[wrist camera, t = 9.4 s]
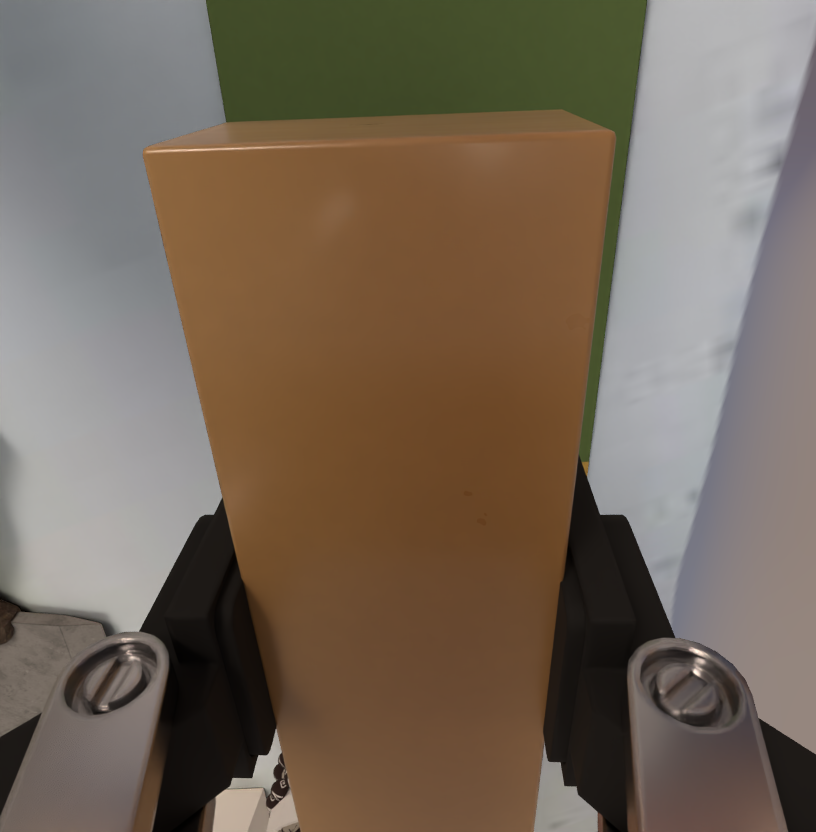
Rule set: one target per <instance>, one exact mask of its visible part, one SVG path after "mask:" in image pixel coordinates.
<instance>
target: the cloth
mask: <svg viewBox="0 0 816 832" xmlns="http://www.w3.org/2000/svg"><path fill="white" fill-rule="evenodd" d="M206 4H207V10H208V16H209V22H210V28H211V34H212V40H213V46H214V52H215V58H216V64H217V70H218V76H219V81H220V87H221V93H222V99H223V105H224V111H225V117H226V122H245V121H271V120H297V119H324V118H350V117H376V116H402V115H428V114H454V113H481V112H507V111H533V110H559V109H562V110H564V111H567V112H569V113H572V114H574V115H576V116H579V117H581V118H583V119H586V120H588V121H590V122H593V123H595V124H598V125H600V126H602V127H605V128H607V129H609V130H612V131H614V132H615V135H616V145H615V154H614V162H613V170H612V179H611V187H610V196H609V204H608V212H607V221H606V229H605V238H604V246H603V254H602V263H601V271H600V279H599V288H598V296H597V305H596V313H595V321H594V330H593V338H592V347H591V355H590V363H589V372H588V380H587V388H586V397H585V405H584V414H583V422H582V430H581V439H580V447H579V456H580V459H581V462H582V465H583V467H584V470H585V473H586V476H587V473H588V465H589V457H590V449H591V441H592V433H593V425H594V417H595V409H596V401H597V393H598V385H599V377H600V369H601V362H602V354H603V346H604V338H605V330H606V322H607V314H608V306H609V298H610V290H611V282H612V274H613V267H614V259H615V251H616V243H617V235H618V227H619V219H620V211H621V203H622V195H623V187H624V179H625V171H626V164H627V156H628V148H629V140H630V132H631V124H632V116H633V108H634V100H635V92H636V84H637V76H638V69H639V61H640V53H641V45H642V37H643V29H644V21H645V13H646V5H647V0H206Z"/></svg>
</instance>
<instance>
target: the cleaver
mask: <svg viewBox="0 0 816 832" xmlns="http://www.w3.org/2000/svg"><path fill="white" fill-rule="evenodd" d="M105 637H106V635H105V632H104V630H103V627H102V624H101V623H98V622H93V621H89V620H85V619H80V618H76V617H72V616H67V615H57V614H44V613H31V612H21V611H20V609H19V607H18V606H16V605H14V604H11V603H9V602H6V601H3V600H0V737H1V736H3V735H5V734H6V733H8V732H10V731H11V730H13V729H15V728H16V727H18V726H20V725H21V724H23V723H25V722H27V721H28V720H30V719H32V718H33V717H35V716H37V715H38V714H40V713H42V711H43V709H44V706H45V704H46V701H47V699H48V696H49V694H50V691H51V689H52V687H53V684H54V682H55V681H56V679H57V677H58V675H59V674H60V672H61V670H62V669H63V668H64V667H65V666H66V665H67V663H68V662H69V661H70V660H71V659H72V658H73V657H74V656H75V655H76V654H78V653H79V652H81V651H82V650H83V649H85V648H86V647H88V646H89V645H91V644H92V643H95V642H97V641H99V640H101V639H103V638H105Z"/></svg>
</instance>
